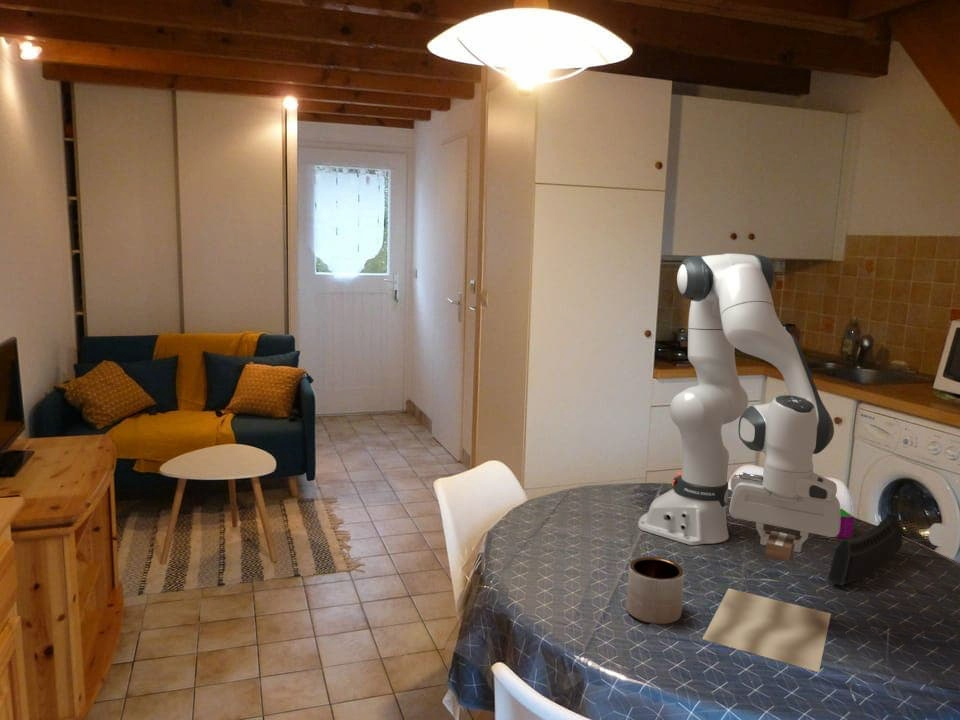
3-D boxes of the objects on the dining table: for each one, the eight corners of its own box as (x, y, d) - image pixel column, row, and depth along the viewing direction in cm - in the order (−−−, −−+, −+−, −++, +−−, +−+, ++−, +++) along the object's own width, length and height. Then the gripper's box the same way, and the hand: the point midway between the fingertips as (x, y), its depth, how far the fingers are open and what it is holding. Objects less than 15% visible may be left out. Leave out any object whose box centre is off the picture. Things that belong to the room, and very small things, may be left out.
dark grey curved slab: (840, 554, 157) (902, 489, 174) (825, 549, 160) (888, 486, 176) (843, 619, 163) (902, 550, 180) (828, 613, 166) (888, 546, 182)
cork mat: (701, 641, 138) (702, 638, 138) (728, 590, 159) (728, 588, 159) (818, 675, 129) (818, 672, 128) (830, 616, 149) (831, 613, 149)
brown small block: (789, 562, 143) (791, 547, 142) (764, 557, 145) (766, 542, 144) (794, 549, 149) (795, 535, 148) (770, 544, 151) (771, 530, 150)
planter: (671, 632, 141) (675, 585, 140) (617, 616, 147) (620, 570, 145) (688, 609, 150) (691, 565, 149) (636, 594, 156) (639, 551, 155)
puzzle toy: (839, 529, 196) (841, 508, 195) (851, 537, 190) (853, 516, 189) (818, 529, 195) (820, 508, 194) (829, 537, 190) (831, 516, 189)
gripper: (728, 474, 146) (723, 541, 149) (843, 494, 137) (835, 565, 139) (734, 466, 152) (729, 530, 154) (845, 485, 142) (837, 553, 144)
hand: (780, 547), depth 146 cm, fingers closed on brown small block, 4 cm apart
